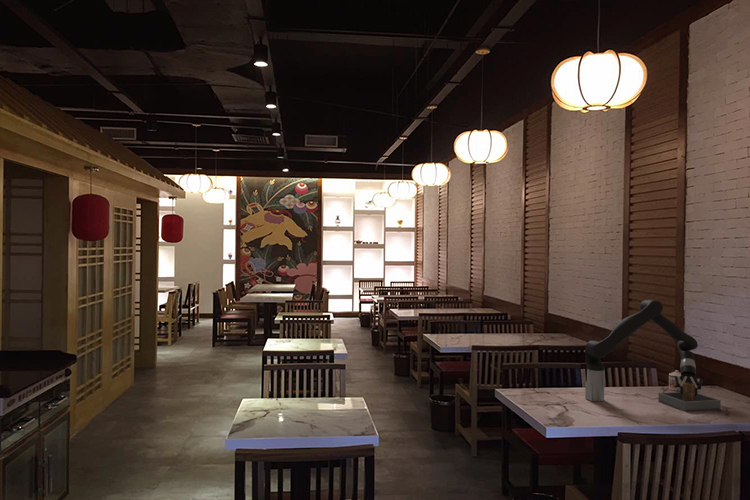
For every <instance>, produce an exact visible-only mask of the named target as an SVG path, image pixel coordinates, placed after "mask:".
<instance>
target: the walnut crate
mask: <svg viewBox="0 0 750 500" xmlns="http://www.w3.org/2000/svg"><path fill="white" fill-rule="evenodd" d="M695 383H696V382H695ZM695 383H692V382H683V401H685V402H688V401H695Z"/></svg>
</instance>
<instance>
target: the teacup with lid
mask: <svg viewBox="0 0 750 500" xmlns="http://www.w3.org/2000/svg"><path fill="white" fill-rule="evenodd" d="M679 371H680V370H677V369H675V370H674V371H672V372H669V374H668V389H669V390H670V391H674V392H680V388H679V387H676V383H675V376H677V377H680V376H681V371H680V372H679ZM678 382H679V384H680V385H681V383H682V381H681V380H680V379H679V381H678Z"/></svg>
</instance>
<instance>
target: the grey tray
mask: <svg viewBox="0 0 750 500" xmlns="http://www.w3.org/2000/svg"><path fill="white" fill-rule="evenodd" d="M658 403H661V404H664V405H666V406H668V405H669V406H668V407H672V408H674V409H677V410H680V411H682V412H689V413H690V412H701V411H703V412H704V411H718V410H719V411H720V410H721V407H722V406H721V399H717V398H714V397H711V396H708V395H705V394H702V393H699V392H698V393H697V395H696V396H695V401H688V402H685V401H683V394H682V393H680V391H674V392H673V391H671V392H668V391H667V392H658Z"/></svg>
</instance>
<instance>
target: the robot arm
mask: <svg viewBox="0 0 750 500" xmlns="http://www.w3.org/2000/svg"><path fill="white" fill-rule="evenodd" d="M639 310H640V311H639V312H636V313H634V314H632V315H629V316H627V317H624V318H623V319H621V320H620V321H619V322H617V323H616V324H615V325H614V326H613V327H612V329H611V331H610V334H609V335H608V336H607V337H605V338H604V339H603V340H600V341H597V340H590V341H588V342H587V343H586V345H585V348H584V349H585V351H584V352H585V353H584V354H585V356H584V357H585V365H586V381H585V385H584V387H585V389H584V390H585V393H584V398H585V400H588V401H590V402H595V403H596V402H601V403H602V402H605V370H606V369H605V365H604V363H603V362H602V360H601V359H602V358H605V357H607V355H609V354H610V352H612V351H613V349H614V348H616V347H617V346H618V345H619V344H621V343H622V342H624V341H625V340H626V339H628V338H629V337H630V336H631V335H633V334H634V333H635V332H636V331H638V330H639V329H640V328H642V327H644V325H645V324H646V323H648V322H649V321H653V322H654V323H655V324H656V325H657V326H659V327H660V329H662V330H663V331H664V332H665V333H666V334H667V335H668V336H669V337H671V339H672V340H673V341H675V342H677V345H676V346H677V349H678V352H679V355H680V365H679V367H680V373H681V376H680V377H677V376H675V383H676V387H679V388H680V391H679V392H680V393H682V394H683V382H692V383H695V396H696V395H697V393H699V392H698V390H702V385H703V378H700V377H699V378H698V376H697V369H696V367H697V366H696V358H695V357H696V356H695V353H694V352H693V351H694V350H696V349H697V348H698V345H699V344H698V342H697V340H696V339H695V338H694V337H693V336H691V335H689V334H688V333H687V332H684V330H682V329H681V328H680V327H679V326H678V325H677V324H676V323H675V322H674V321H672V320H670V319H668V318H667V317H665V316H664V315H663V314H662V312H663V311H664V306H663V303H662V302H661V301H659V300H657V299H645V300H642V301H641V302H640V305H639ZM679 379H680V380H681V381H682V383H681V385H680V384H679V382H678V381H679ZM697 383H698V385H697Z"/></svg>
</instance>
